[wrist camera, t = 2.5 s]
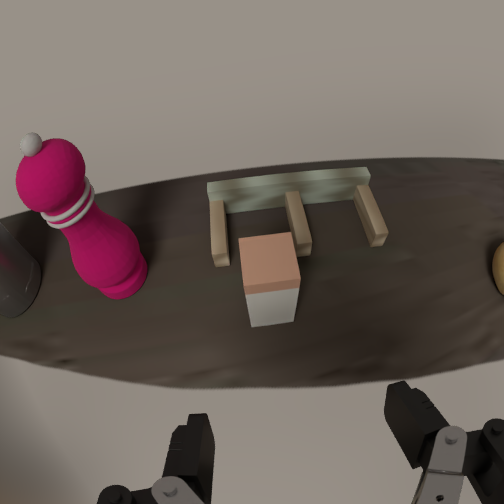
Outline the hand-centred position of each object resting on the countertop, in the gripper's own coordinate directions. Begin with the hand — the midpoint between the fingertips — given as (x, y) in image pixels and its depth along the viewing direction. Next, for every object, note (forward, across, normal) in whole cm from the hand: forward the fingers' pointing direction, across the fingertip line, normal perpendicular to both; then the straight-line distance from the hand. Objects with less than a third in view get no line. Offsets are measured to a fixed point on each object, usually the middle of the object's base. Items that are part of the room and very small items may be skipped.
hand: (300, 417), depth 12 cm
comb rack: (+24, -4, -4) cm, 25 cm away
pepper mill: (+22, +16, -2) cm, 27 cm away
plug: (+18, 0, +2) cm, 19 cm away
